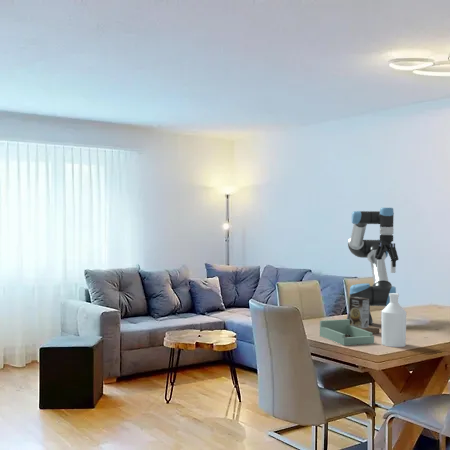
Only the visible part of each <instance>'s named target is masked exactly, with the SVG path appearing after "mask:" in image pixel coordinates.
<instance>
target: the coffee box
mask: <svg viewBox="0 0 450 450" xmlns="http://www.w3.org/2000/svg"><path fill="white" fill-rule="evenodd" d="M348 300H349V302H348V303H349V305H348V306H349V307H348V313H349V320H350V325H351V326H354V327H357V328H361V329H362V328H368V327H369V326H370V325H369V298H362V297H350V296H349V299H348Z"/></svg>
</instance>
